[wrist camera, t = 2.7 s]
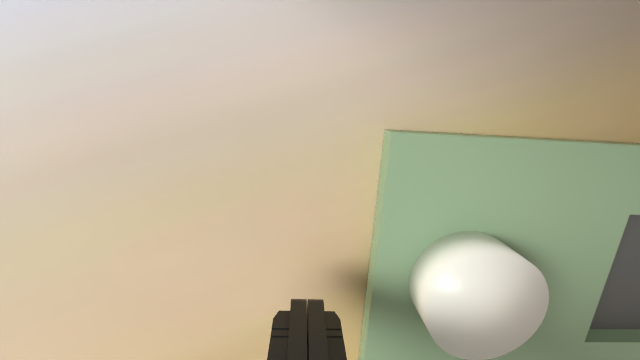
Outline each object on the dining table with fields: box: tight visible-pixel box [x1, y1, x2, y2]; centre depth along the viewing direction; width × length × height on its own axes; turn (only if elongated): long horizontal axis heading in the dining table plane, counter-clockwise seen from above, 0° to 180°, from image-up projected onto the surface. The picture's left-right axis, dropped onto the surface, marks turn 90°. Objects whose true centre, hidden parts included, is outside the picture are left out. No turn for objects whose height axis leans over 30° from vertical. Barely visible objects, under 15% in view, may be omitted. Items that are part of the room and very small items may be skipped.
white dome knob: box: [409, 231, 549, 360], centre depth 15 cm, size 6×6×2 cm
